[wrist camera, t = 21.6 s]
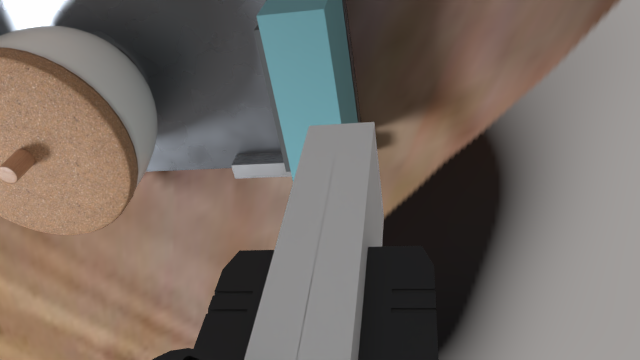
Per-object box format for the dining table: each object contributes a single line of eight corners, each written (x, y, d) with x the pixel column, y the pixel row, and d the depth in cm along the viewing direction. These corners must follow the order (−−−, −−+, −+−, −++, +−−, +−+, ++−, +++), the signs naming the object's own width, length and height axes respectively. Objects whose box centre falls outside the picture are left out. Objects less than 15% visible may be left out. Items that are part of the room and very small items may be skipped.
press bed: (31, 168, 41) (-11, 212, 37) (-66, -14, 33) (-134, 17, 29) (365, 153, 36) (357, 202, 32) (337, -66, 28) (322, -36, 24)
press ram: (302, 147, 34) (285, 197, 30) (268, -19, 29) (243, 17, 25) (360, 144, 34) (352, 195, 30) (338, -27, 28) (324, 8, 24)
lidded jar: (178, 175, 38) (117, 278, 30) (21, 133, 38) (-79, 226, 30) (190, 25, 31) (116, 109, 24) (0, -26, 31) (-135, 42, 24)
